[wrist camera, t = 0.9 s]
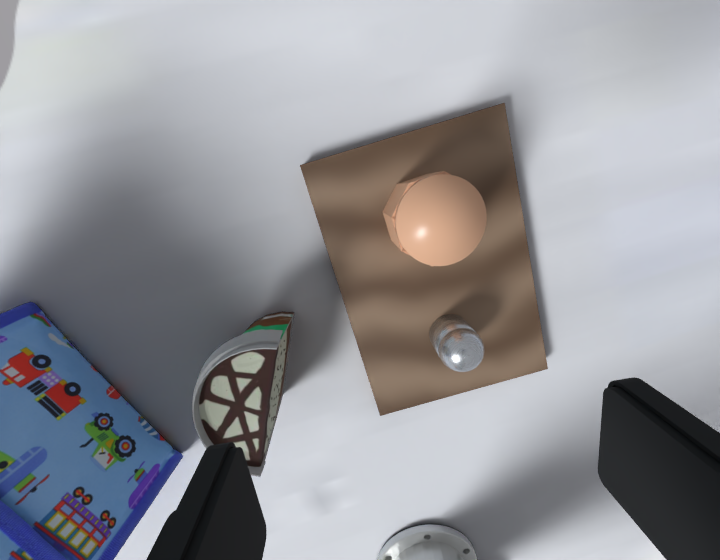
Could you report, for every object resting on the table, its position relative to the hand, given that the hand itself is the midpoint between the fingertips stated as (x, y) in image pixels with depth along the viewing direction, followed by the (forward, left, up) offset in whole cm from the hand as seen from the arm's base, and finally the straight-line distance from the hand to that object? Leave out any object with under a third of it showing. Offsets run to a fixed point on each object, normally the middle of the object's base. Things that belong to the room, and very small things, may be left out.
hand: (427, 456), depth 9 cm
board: (-6, -2, -26) cm, 26 cm away
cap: (-2, -6, -24) cm, 25 cm away
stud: (-11, +3, -24) cm, 26 cm away
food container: (+6, +13, -26) cm, 30 cm away
